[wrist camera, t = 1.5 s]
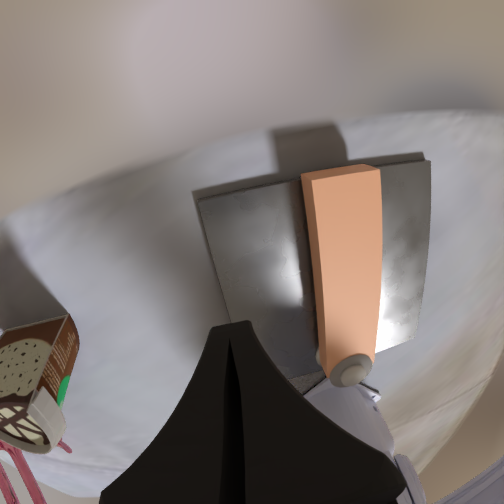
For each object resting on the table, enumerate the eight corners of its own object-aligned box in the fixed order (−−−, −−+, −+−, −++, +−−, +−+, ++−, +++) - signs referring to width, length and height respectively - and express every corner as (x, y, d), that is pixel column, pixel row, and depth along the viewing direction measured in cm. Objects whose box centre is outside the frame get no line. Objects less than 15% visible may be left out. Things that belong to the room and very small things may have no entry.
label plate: (425, 159, 17) (432, 161, 17) (411, 335, 25) (415, 340, 24) (198, 199, 17) (197, 203, 16) (251, 383, 24) (252, 390, 23)
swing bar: (362, 359, 23) (375, 383, 21) (319, 372, 23) (330, 398, 21) (361, 163, 16) (387, 172, 13) (299, 173, 16) (316, 183, 13)
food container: (31, 375, 22) (0, 447, 13) (-2, 331, 19) (-47, 401, 10) (119, 365, 22) (95, 465, 13) (82, 310, 19) (32, 412, 10)
